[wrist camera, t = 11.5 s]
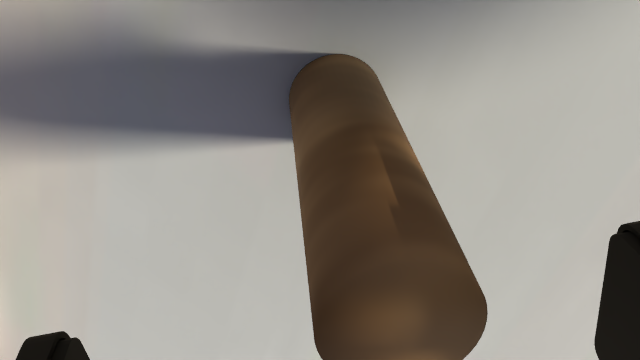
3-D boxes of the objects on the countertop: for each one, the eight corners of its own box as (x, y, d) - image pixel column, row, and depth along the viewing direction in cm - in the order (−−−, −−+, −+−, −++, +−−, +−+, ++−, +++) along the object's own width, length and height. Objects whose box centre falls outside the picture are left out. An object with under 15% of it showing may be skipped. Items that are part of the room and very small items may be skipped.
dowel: (377, 46, 17) (488, 244, 9) (385, 132, 19) (486, 371, 10) (281, 62, 17) (300, 275, 9) (297, 147, 19) (326, 398, 10)
